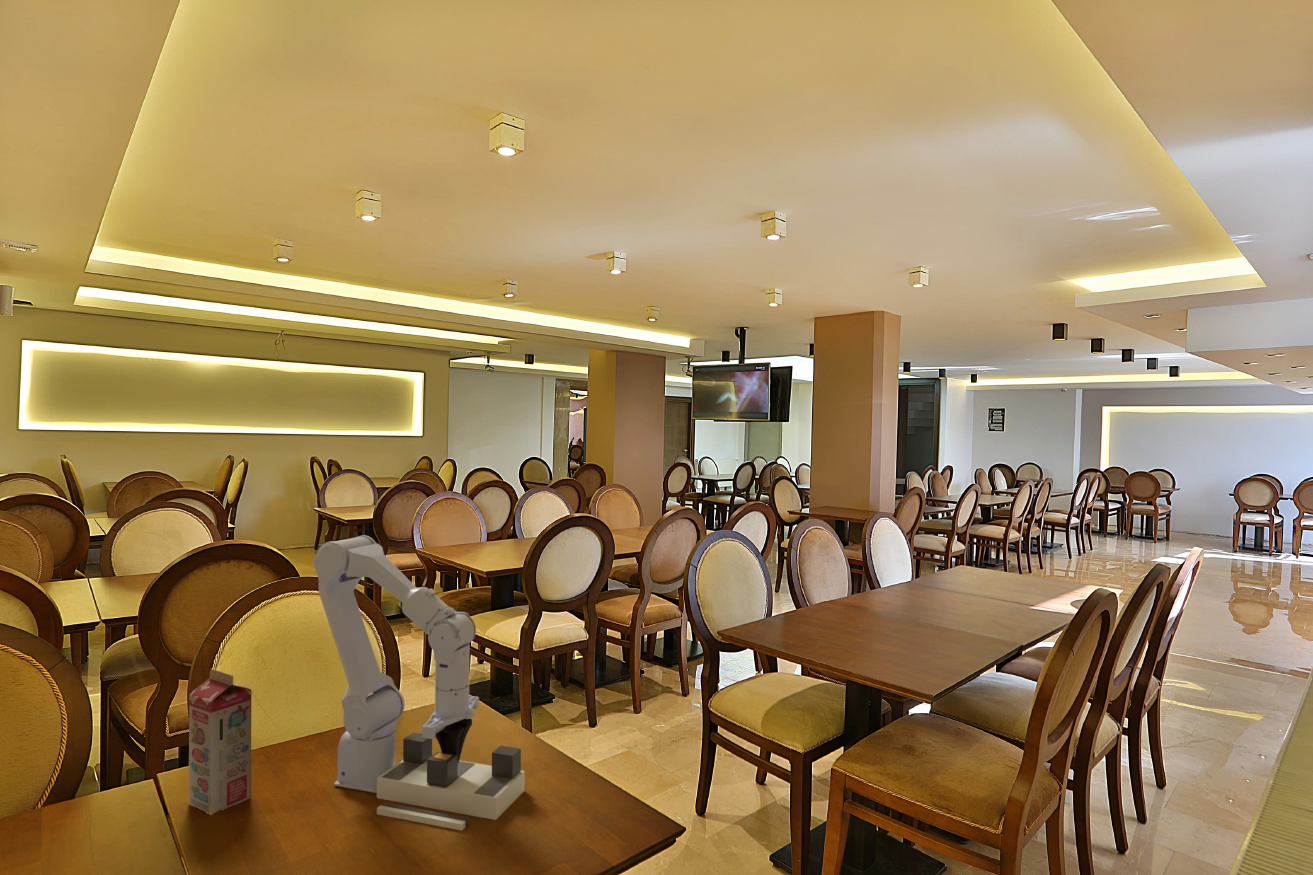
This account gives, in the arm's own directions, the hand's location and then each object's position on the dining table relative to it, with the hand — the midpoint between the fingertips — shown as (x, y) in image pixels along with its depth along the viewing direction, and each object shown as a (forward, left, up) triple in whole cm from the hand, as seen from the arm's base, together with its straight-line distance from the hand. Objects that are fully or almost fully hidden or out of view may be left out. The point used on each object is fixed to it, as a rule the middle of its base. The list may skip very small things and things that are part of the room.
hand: (451, 763), depth 124 cm
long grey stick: (0, -8, -5) cm, 10 cm away
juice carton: (-36, -14, -6) cm, 39 cm away
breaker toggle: (0, -3, -2) cm, 3 cm away
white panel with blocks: (0, 0, -5) cm, 5 cm away
